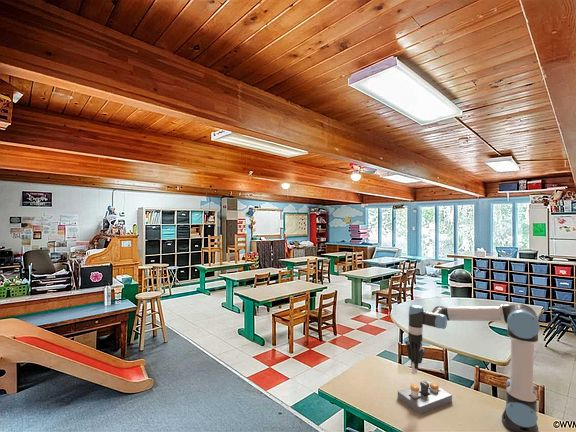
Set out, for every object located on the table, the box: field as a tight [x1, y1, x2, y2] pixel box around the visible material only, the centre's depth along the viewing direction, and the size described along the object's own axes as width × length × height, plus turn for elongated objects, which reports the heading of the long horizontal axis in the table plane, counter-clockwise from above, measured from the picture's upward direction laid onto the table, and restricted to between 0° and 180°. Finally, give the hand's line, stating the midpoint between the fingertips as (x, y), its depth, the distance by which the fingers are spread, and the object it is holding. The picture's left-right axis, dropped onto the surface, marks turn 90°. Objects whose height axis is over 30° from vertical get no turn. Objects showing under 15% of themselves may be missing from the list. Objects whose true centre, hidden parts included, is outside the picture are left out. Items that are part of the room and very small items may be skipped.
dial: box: [419, 380, 429, 396], centre depth 178 cm, size 5×5×7 cm
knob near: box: [409, 384, 419, 400], centre depth 175 cm, size 5×5×7 cm
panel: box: [397, 380, 453, 415], centre depth 178 cm, size 16×26×4 cm, turn 115°
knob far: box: [430, 382, 440, 393], centre depth 182 cm, size 5×5×7 cm
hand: (414, 373), depth 175 cm, fingers closed
